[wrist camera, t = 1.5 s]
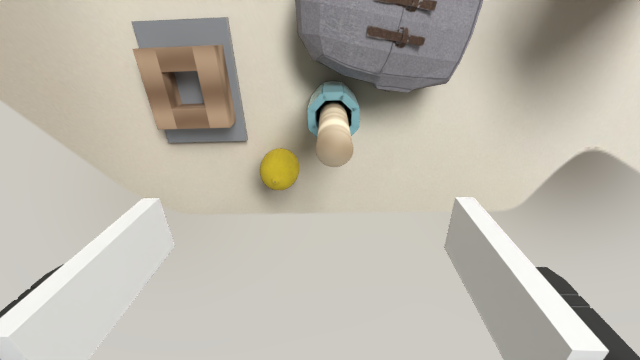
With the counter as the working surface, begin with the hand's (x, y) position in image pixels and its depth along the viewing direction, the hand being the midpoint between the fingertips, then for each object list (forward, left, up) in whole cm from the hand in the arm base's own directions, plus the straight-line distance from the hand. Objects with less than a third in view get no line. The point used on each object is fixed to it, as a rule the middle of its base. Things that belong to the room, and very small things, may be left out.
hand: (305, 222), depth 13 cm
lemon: (+10, -6, -30) cm, 32 cm away
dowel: (+1, +1, -29) cm, 29 cm away
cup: (+1, +1, -30) cm, 30 cm away
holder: (-2, -18, -29) cm, 34 cm away
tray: (-2, -18, -30) cm, 35 cm away
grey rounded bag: (-9, +7, -30) cm, 32 cm away
